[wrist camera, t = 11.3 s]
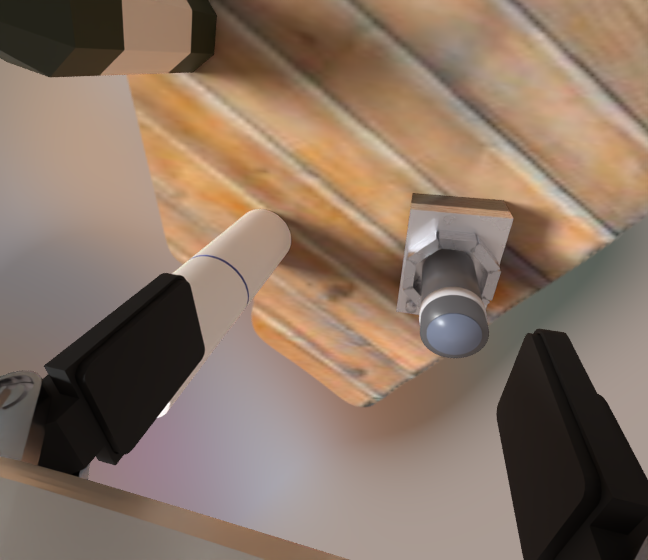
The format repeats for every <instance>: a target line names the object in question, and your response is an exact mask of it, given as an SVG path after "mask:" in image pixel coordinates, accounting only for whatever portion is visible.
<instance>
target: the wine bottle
mask: <svg viewBox="0 0 648 560" xmlns="http://www.w3.org/2000/svg"><path fill="white" fill-rule="evenodd" d="M216 18H217V15H216V14H215V12H214V10H213V8H212V6H211V4H210V3H209V1H208V0H0V58H1V59H3V60H4V61H6V62H9V63H11V64H14V65H17V66H20V67H22V68H25V69H28V70H31V71H34V72H36V73H40V74H42V75H45V76H48V77H72V76H97V75H128V74H157V73H185V72H193V71H195V70H196V69H197V68H198V67H199V66H200V65H202V64H203V63H204V62H205V61H206V60H208V59H209V58H210V57H211V56H212V55H214V46H215V32H216Z"/></svg>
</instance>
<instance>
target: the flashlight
mask: <svg viewBox="0 0 648 560" xmlns="http://www.w3.org/2000/svg"><path fill="white" fill-rule="evenodd" d="M419 322H420V336H421V339H422V342H423V343H424V345H425V346H426V347H427V348H428V349H429V350H430V351H432V352H433V353H435V354H437V355H440V356H443V357H447V358H462V357H468V356H470V355H473V354H475V353H476V352H478V351H480V350H481V349H482V348H483V347H484V346H485V344H486V343H487V341H488V337H489V329H488V325H487V314H486V309H485V306H484V303H483V302H482V298H481V293H480V289H479V284H478V280H477V275H476V271H475V266H474V263H473V260H472V259H471V257H470V256H469V255H468V254H466V253H465V252H463V251H459V250H450V249H440V250H437V251H436V252H434V253H433V254H431V255H430V256H428V257H427V258H426V260H425V261H424V264H423V267H422V289H421V306H420V313H419Z"/></svg>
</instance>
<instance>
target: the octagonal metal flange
mask: <svg viewBox="0 0 648 560" xmlns="http://www.w3.org/2000/svg"><path fill="white" fill-rule="evenodd" d="M513 219H514V218H513V217H512V215H511V213H510V211H509V209H508V207H507V206H506V204H505V202H504V201H503V200H490V199H478V198H465V197H453V196H440V195H428V194H416V193H413V195H412V202H411V209H410V216H409V223H408V230H407V238H406V245H405V252H404V259H403V266H402V273H401V280H400V288H399V295H398V302H397V310H396V311H397V312H404V313H411V314H417V315H419V313H420V306H421V289H422V267H423V264H424V261H425V260H426V258H427V257H428V256H430V255H431V254H433V253H434V252H436V251H437V250H440V249H450V250H459V251H463V252H465V253H466V254H468V255H469V256H470V257H471V259H472V260H473V263H474V266H475V271H476V275H477V280H478V284H479V289H480V293H481V298H482V302H483V303H484V306H485V309H486V307H487V304H488V303H490V300H492V299H493V296H494V293H495V290H496V286H497V283H498V280H499V277H500V274H501V270H500V266H499V265H500V261H501V258H502V255H503V252H504V248H505V245H506V242H507V238H508V235H509V232H510V229H511V225H512V222H513Z"/></svg>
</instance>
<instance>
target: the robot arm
mask: <svg viewBox="0 0 648 560" xmlns="http://www.w3.org/2000/svg"><path fill="white" fill-rule="evenodd" d="M204 353H205V345H204V341H203V337H202V333H201V328H200V324H199V320H198V315H197V311H196V307H195V302H194V298H193V294H192V290H191V286H190V283H189V282H188V281H186V279H185V278H184V276H181V275H175V274H168V273H163V274H161V275H159V276H158V277H157V278H156V279H154V280H153V281H152V282H151V283H149V284H148V285H147V286H146V287H144V288H143V289H141V290H140V291H139V292H138V293H137V294H135V295H134V296H132V297H131V298H130V299H129V300H127V301H126V302H125V303H124V304H122V305H121V306H120V307H118V308H117V309H116V310H115V311H113V312H112V313H111V314H109V315H108V316H107V317H106V318H104V319H103V320H102V321H101V322H99V323H98V324H97V325H95V326H94V327H93V328H92V329H91V330H89V331H88V332H86V333H85V334H84V335H83V336H81V337H80V338H79V339H77V340H76V341H75V342H74V343H72V344H71V345H70V346H69V347H67V348H66V349H65V350H63V351H62V352H61V353H60V354H58V355H57V356H56V357H55V358H53V359H52V360H51V361H49V362H48V363H47V364H45V365H44V367H45V369H46V371H47V372H48V375H47V376H46V377H45V378H44V379H42V378H41V376H40V375H39V374H38V373H36V372H33V371H17V372H12V373H8V374H6V375H3V376H0V560H349V559H345V558H342V557H339V556H335V555H333V554H329V553H326V552H323V551H320V550H317V549H313V548H310V547H307V546H304V545H300V544H297V543H294V542H290V541H287V540H284V539H281V538H278V537H274V536H271V535H268V534H264V533H261V532H258V531H255V530H252V529H248V528H245V527H242V526H238V525H235V524H232V523H229V522H225V521H222V520H219V519H216V518H212V517H209V516H206V515H203V514H199V513H196V512H193V511H190V510H186V509H183V508H180V507H176V506H173V505H170V504H167V503H163V502H160V501H157V500H153V499H150V498H147V497H143V496H140V495H136V494H133V493H130V492H126V491H123V490H120V489H116V488H113V487H109V486H106V485H103V484H100V483H96V482H93V481H90V480H88V475H89V465H90V464H89V463H90V462H91V461H92V460H93V459H94V457H95V456H96V457H97V459H98V460H99V461H102V462H106V463H109V464H113V465H116V464H117V463H118V462H119V460H120V459H121V458H122V456H123V455H124V454H128V453H129V452H130V451H131V450H132V449H133V448H134V447H135V446H136V444H137V443H138V442H139V440H140V439H141V438H142V437H143V435H144V434H145V433H146V431H147V430H148V428H149V427H150V426H151V425H152V424H153V422H154V421H155V420H156V418H157V417H158V416H159V414H160V413H161V412H162V411H163V409H164V408H165V407H166V405H167V404H168V403H169V402H170V400H171V399H172V398H173V396H174V395H175V394H176V392H177V391H178V390H179V389H180V387H181V386H182V385H183V383H184V382H185V381H186V379H187V378H188V377H189V376H190V374H191V373H192V372H193V370H194V369H195V368H196V367H197V365H198V364H199V363H200V361H201V360H202V358H203V356H204ZM497 422H498V427H499V432H500V437H501V443H502V449H503V454H504V459H505V464H506V469H507V474H508V480H509V485H510V491H511V496H512V501H513V507H514V512H515V517H516V522H517V527H518V533H519V538H520V543H521V549H522V553H523V558H524V560H648V480H647V477H646V475H645V474H644V472H643V470H642V468H641V466H640V464H639V462H638V460H637V458H636V457H635V455H634V453H633V451H632V449H631V447H630V445H629V443H628V441H627V439H626V437H625V436H624V434H623V432H622V430H621V428H620V426H619V424H618V422H617V420H616V418H615V416H614V415H613V413H612V411H611V409H610V407H609V405H608V403H607V402H606V400H605V399H604V398H603V397H602V396H601V395H599V394H597V392H596V390H595V388H594V386H593V385H592V383H591V381H590V379H589V377H588V375H587V373H586V371H585V369H584V367H583V365H582V363H581V361H580V359H579V357H578V355H577V353H576V351H575V349H574V347H573V345H572V343H571V341H570V339H569V337H568V336H567V334H566V333H564V332H558V331H551V330H545V329H537V330H536V331H535V332H534V334H531V333H528V334H527V335H526V336H525V338H524V341H523V343H522V346H521V348H520V351H519V353H518V356H517V358H516V361H515V363H514V366H513V368H512V371H511V373H510V376H509V378H508V381H507V383H506V386H505V388H504V391H503V393H502V396H501V398H500V401H499V403H498V406H497Z"/></svg>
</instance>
